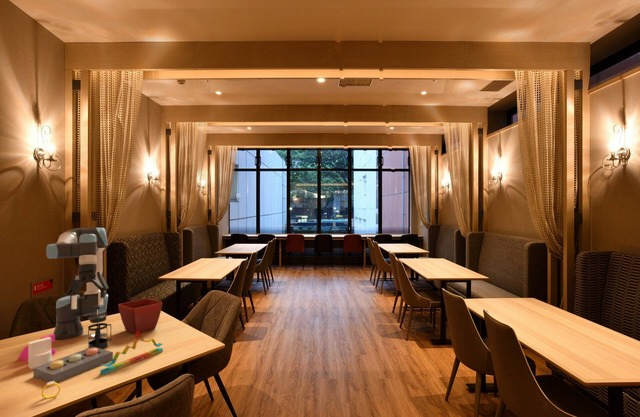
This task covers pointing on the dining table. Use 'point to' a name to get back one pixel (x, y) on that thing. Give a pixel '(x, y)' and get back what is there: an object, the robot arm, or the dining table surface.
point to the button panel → (72, 366)
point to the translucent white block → (39, 352)
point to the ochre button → (56, 364)
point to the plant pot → (140, 314)
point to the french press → (98, 331)
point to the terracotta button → (91, 351)
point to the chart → (134, 359)
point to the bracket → (25, 352)
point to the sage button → (74, 358)
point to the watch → (50, 385)
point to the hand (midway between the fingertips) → (87, 307)
